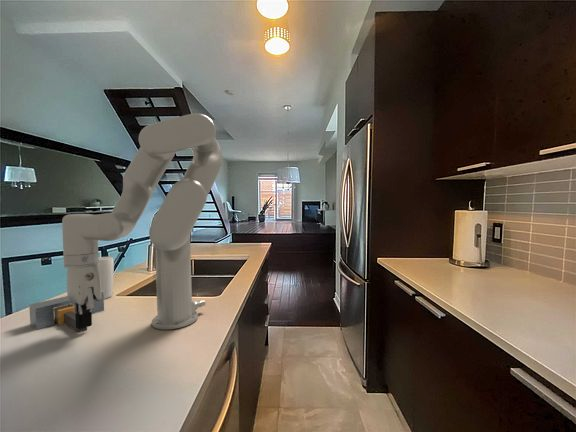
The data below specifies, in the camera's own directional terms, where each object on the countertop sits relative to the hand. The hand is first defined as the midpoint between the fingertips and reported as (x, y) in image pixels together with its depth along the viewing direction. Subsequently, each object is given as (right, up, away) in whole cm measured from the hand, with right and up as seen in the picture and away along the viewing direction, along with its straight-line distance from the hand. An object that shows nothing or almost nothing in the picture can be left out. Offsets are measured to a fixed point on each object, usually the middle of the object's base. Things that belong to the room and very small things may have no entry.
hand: (84, 326), depth 75 cm
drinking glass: (-14, -1, +30) cm, 33 cm away
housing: (-13, -2, +11) cm, 17 cm away
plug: (-8, -2, +6) cm, 10 cm away
